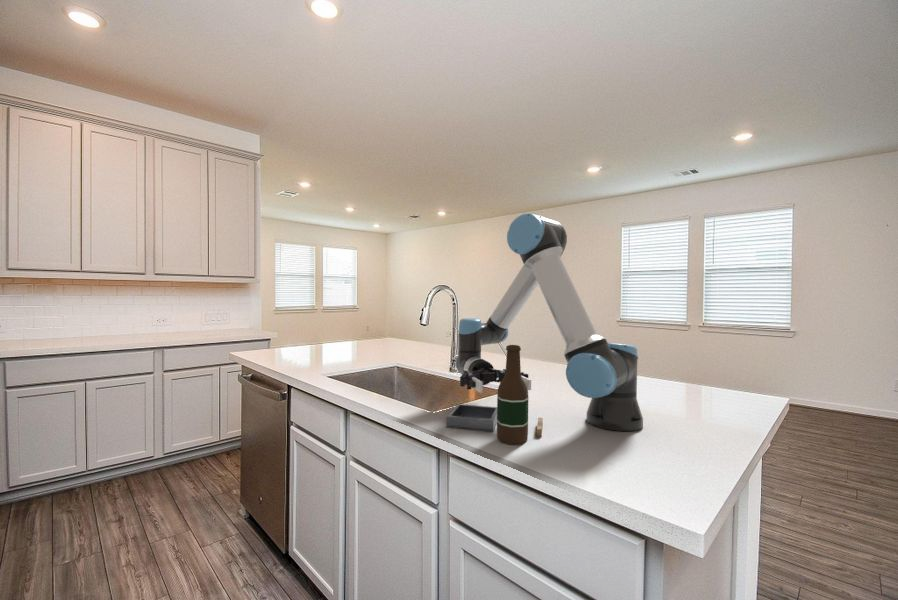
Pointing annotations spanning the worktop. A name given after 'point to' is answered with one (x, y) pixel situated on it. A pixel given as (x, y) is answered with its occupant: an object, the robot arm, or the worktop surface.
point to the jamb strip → (539, 427)
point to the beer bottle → (512, 402)
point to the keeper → (473, 417)
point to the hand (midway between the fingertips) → (506, 386)
